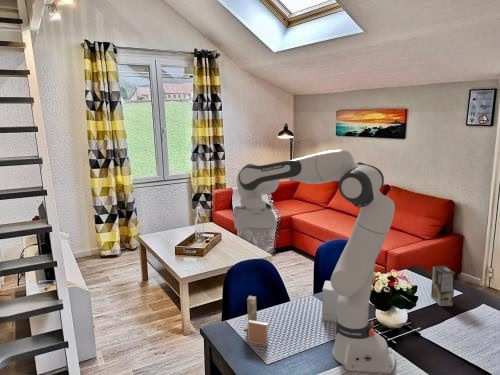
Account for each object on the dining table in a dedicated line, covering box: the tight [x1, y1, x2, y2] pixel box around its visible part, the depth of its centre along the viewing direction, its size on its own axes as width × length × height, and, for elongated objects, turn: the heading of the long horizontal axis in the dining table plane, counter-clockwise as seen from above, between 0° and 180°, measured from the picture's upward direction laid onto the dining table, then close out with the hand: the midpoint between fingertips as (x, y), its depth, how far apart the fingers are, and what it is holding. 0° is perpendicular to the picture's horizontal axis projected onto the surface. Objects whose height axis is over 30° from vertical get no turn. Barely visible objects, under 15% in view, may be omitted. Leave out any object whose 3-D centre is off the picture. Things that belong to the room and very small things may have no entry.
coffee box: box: [430, 265, 456, 307], centre depth 177 cm, size 9×6×16 cm
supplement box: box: [321, 280, 339, 323], centre depth 167 cm, size 9×9×15 cm
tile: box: [247, 320, 270, 346], centre depth 151 cm, size 8×2×9 cm, turn 70°
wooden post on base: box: [244, 295, 258, 332], centre depth 162 cm, size 5×7×14 cm
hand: (259, 240), depth 149 cm, fingers open, 8 cm apart
